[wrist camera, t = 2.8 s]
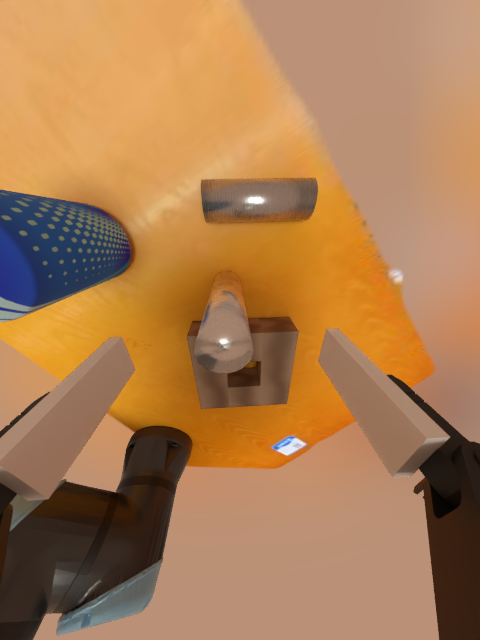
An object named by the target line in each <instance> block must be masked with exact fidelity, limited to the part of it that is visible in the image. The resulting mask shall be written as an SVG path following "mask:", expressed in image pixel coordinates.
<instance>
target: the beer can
mask: <svg viewBox="0 0 480 640" xmlns="http://www.w3.org/2000/svg"><path fill="white" fill-rule="evenodd" d="M130 260H131V248H130V243H129V240H128V238H127V236H126V234H125V232H124V230H123V229H122V227H121V226H120V225H119V224H118V222H117V221H116V220H115V219H114V218H112V217H111V216H110V215H109V214H108V213H106V212H104V211H103V210H101V209H99V208H97V207H95V206H92V205H88V204H83V203H77V202H71V201H65V200H59V199H53V198H47V197H41V196H35V195H29V194H23V193H17V192H11V191H5V190H0V322H5V321H11V320H14V319H18V318H21V317H23V316H25V315H28V314H30V313H32V312H35V311H37V310H39V309H42V308H44V307H46V306H49V305H51V304H53V303H56V302H58V301H60V300H63V299H65V298H67V297H70V296H72V295H74V294H77V293H79V292H81V291H84V290H86V289H88V288H91V287H93V286H96V285H98V284H100V283H103V282H105V281H107V280H110V279H112V278H114V277H117V276H119V275H121V274H122V273H123V272H124V271H125V270H126V269H127V267H128V266H129V263H130Z"/></svg>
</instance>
